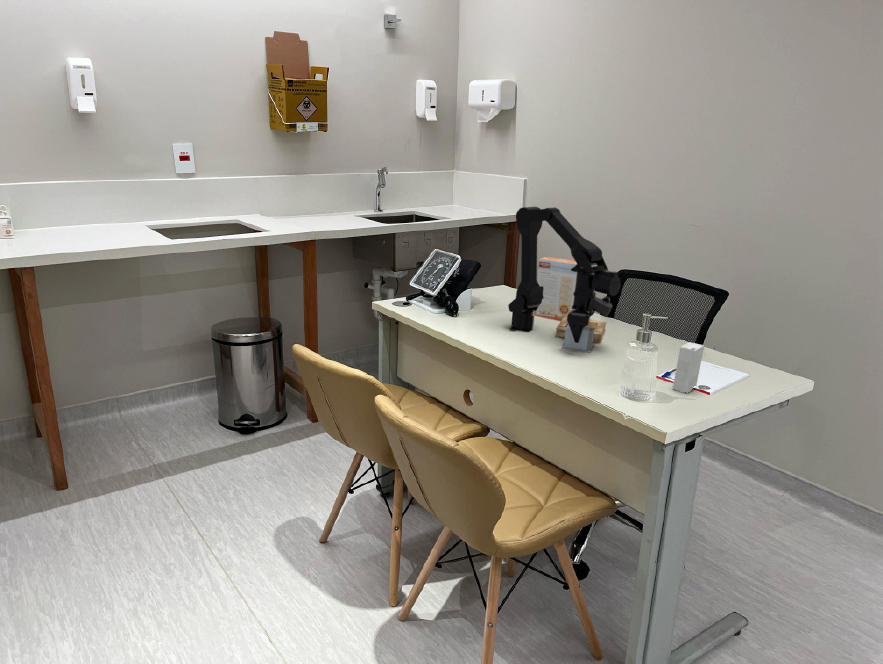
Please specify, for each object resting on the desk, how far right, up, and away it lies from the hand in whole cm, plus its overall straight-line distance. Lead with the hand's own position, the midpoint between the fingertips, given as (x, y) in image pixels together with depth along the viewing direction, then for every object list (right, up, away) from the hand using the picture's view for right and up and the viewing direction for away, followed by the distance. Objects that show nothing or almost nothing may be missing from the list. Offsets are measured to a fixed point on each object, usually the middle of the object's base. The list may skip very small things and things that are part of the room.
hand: (578, 338), depth 210 cm
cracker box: (-2, +6, +32) cm, 32 cm away
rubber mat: (0, -3, +1) cm, 3 cm away
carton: (+3, +1, +14) cm, 14 cm away
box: (0, -2, +1) cm, 3 cm away
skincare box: (+22, -13, -28) cm, 38 cm away
